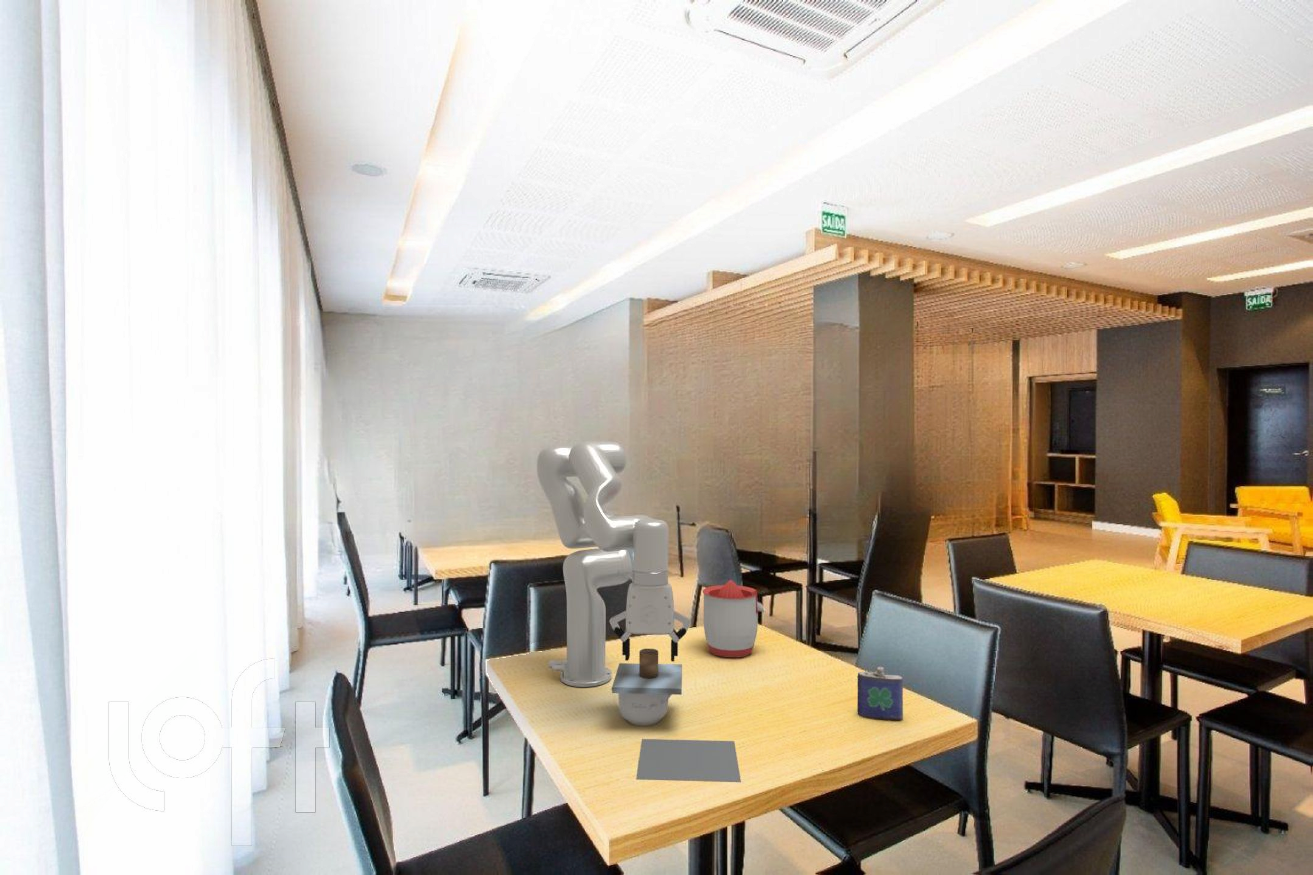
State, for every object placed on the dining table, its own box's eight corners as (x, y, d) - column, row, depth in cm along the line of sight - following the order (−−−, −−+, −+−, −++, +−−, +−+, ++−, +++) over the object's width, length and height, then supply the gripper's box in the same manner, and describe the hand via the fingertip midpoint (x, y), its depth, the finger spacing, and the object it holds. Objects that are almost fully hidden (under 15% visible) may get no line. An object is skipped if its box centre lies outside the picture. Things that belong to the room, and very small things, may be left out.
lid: (612, 693, 129) (612, 662, 129) (619, 668, 143) (619, 640, 143) (681, 694, 129) (681, 663, 129) (682, 669, 143) (682, 641, 143)
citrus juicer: (766, 663, 170) (766, 587, 171) (700, 659, 173) (700, 585, 173) (764, 644, 186) (764, 575, 186) (703, 641, 188) (704, 573, 188)
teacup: (630, 735, 128) (630, 695, 128) (609, 714, 138) (609, 677, 138) (690, 721, 135) (691, 683, 135) (666, 702, 144) (666, 667, 144)
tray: (636, 781, 111) (636, 778, 111) (641, 740, 126) (641, 738, 126) (740, 784, 110) (741, 781, 110) (734, 742, 125) (734, 740, 125)
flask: (902, 717, 137) (902, 666, 137) (903, 722, 134) (903, 671, 134) (857, 712, 140) (857, 662, 140) (857, 717, 137) (857, 667, 137)
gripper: (607, 581, 133) (607, 664, 133) (691, 582, 132) (691, 665, 132) (611, 574, 141) (611, 652, 140) (691, 575, 140) (690, 653, 140)
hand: (650, 658), depth 136 cm, fingers open, 9 cm apart
